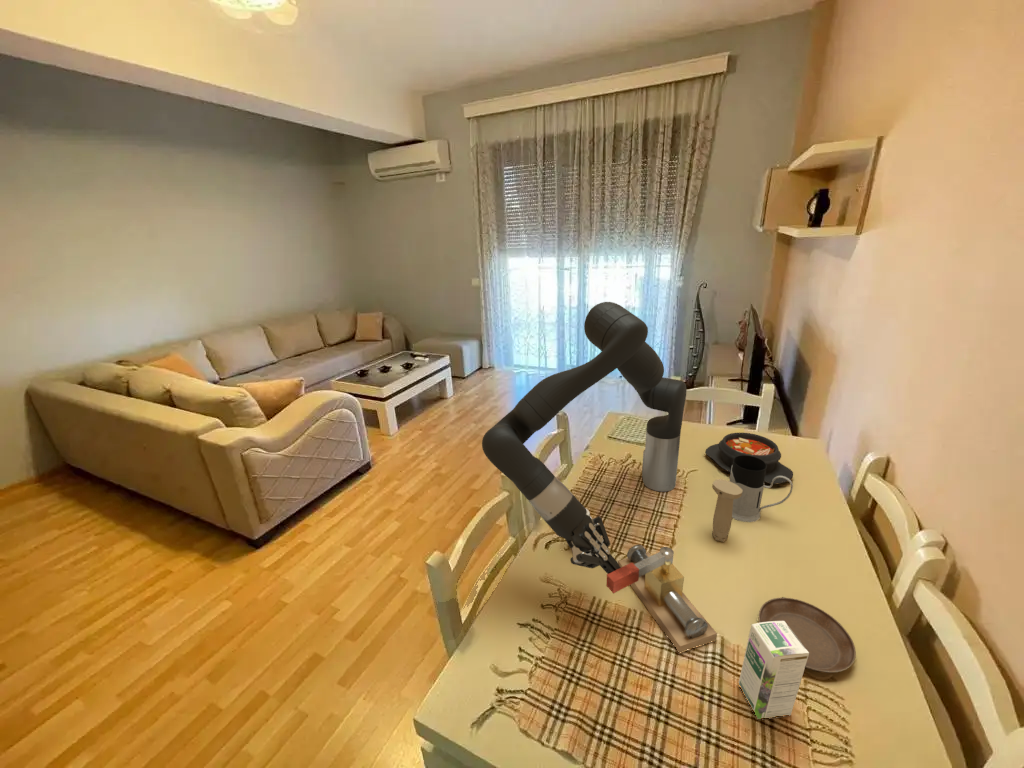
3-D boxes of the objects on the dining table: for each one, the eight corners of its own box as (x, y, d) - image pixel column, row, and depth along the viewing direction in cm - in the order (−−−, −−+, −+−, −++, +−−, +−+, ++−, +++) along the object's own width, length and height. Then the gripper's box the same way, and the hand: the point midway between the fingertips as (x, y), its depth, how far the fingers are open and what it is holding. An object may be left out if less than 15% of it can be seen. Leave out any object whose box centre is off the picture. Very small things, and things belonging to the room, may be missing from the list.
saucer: (875, 676, 72) (879, 665, 71) (791, 686, 71) (794, 675, 70) (810, 603, 86) (813, 593, 85) (740, 611, 85) (742, 601, 84)
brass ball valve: (624, 562, 96) (626, 530, 93) (644, 556, 98) (647, 525, 94) (684, 644, 77) (689, 607, 74) (708, 635, 79) (714, 599, 75)
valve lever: (665, 554, 86) (666, 543, 85) (675, 563, 84) (676, 552, 83) (605, 584, 80) (605, 573, 79) (614, 594, 78) (614, 583, 77)
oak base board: (618, 567, 97) (618, 560, 96) (648, 558, 99) (649, 551, 98) (679, 654, 77) (680, 646, 76) (715, 640, 79) (717, 633, 78)
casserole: (804, 475, 126) (810, 450, 123) (770, 497, 117) (775, 471, 114) (726, 442, 146) (729, 420, 143) (692, 459, 137) (694, 437, 134)
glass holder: (728, 497, 118) (735, 450, 113) (787, 516, 110) (798, 467, 104) (719, 513, 112) (726, 465, 107) (781, 535, 103) (792, 484, 98)
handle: (725, 549, 100) (734, 497, 95) (701, 534, 105) (708, 483, 100) (737, 541, 102) (746, 489, 97) (713, 526, 108) (721, 476, 102)
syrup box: (736, 684, 72) (748, 622, 66) (769, 680, 72) (784, 618, 67) (757, 721, 66) (772, 657, 61) (793, 716, 67) (811, 652, 62)
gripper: (556, 519, 75) (623, 594, 74) (581, 479, 86) (639, 544, 85) (531, 534, 79) (593, 605, 78) (557, 494, 90) (612, 556, 89)
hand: (617, 573), depth 81 cm, fingers closed
